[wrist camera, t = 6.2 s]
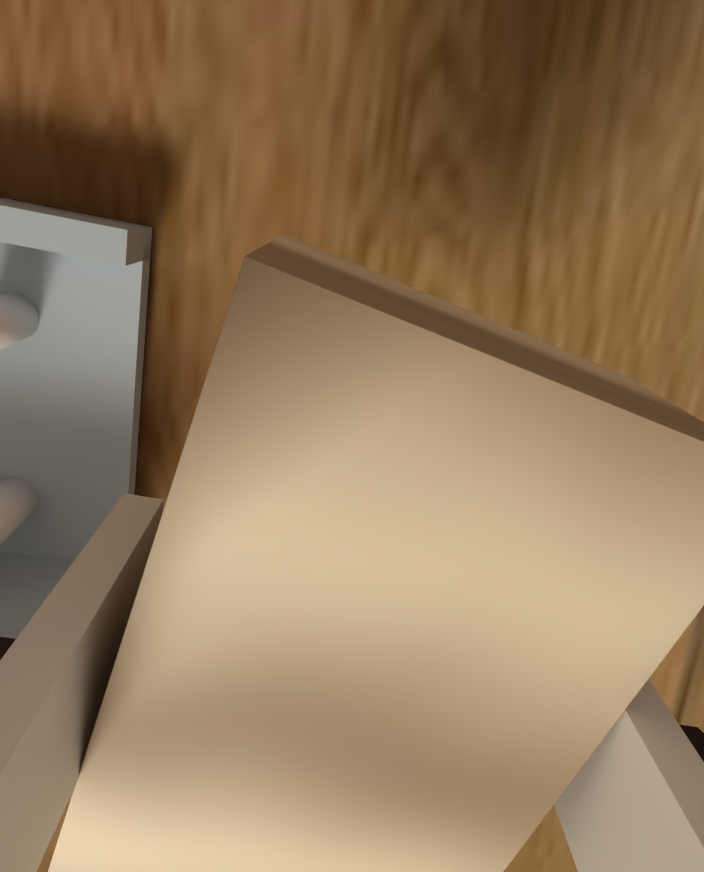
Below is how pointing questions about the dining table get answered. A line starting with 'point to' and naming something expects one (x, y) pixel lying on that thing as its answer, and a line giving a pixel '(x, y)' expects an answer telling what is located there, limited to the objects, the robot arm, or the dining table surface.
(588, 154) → the dining table surface
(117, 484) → the cradle
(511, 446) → the slab
